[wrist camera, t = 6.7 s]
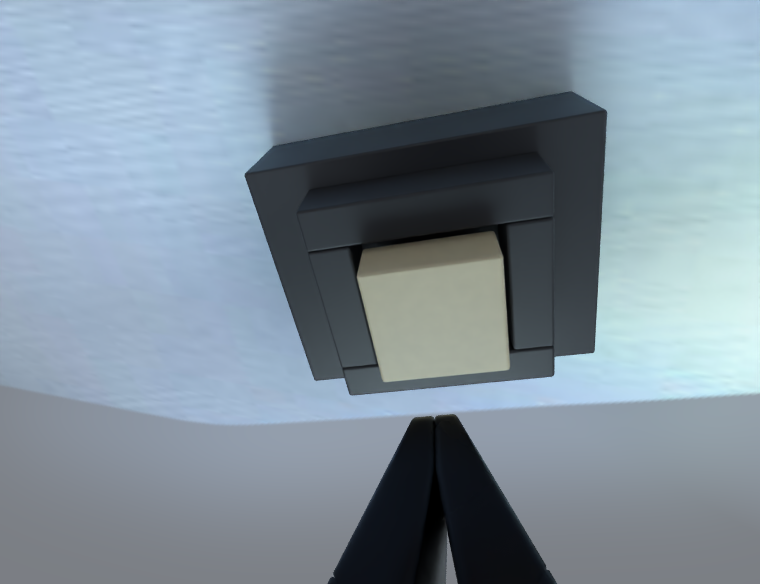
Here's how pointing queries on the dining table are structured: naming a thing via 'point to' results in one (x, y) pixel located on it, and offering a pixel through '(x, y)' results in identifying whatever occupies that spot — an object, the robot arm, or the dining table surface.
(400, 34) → the dining table surface
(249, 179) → the charcoal button block
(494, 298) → the cream button
